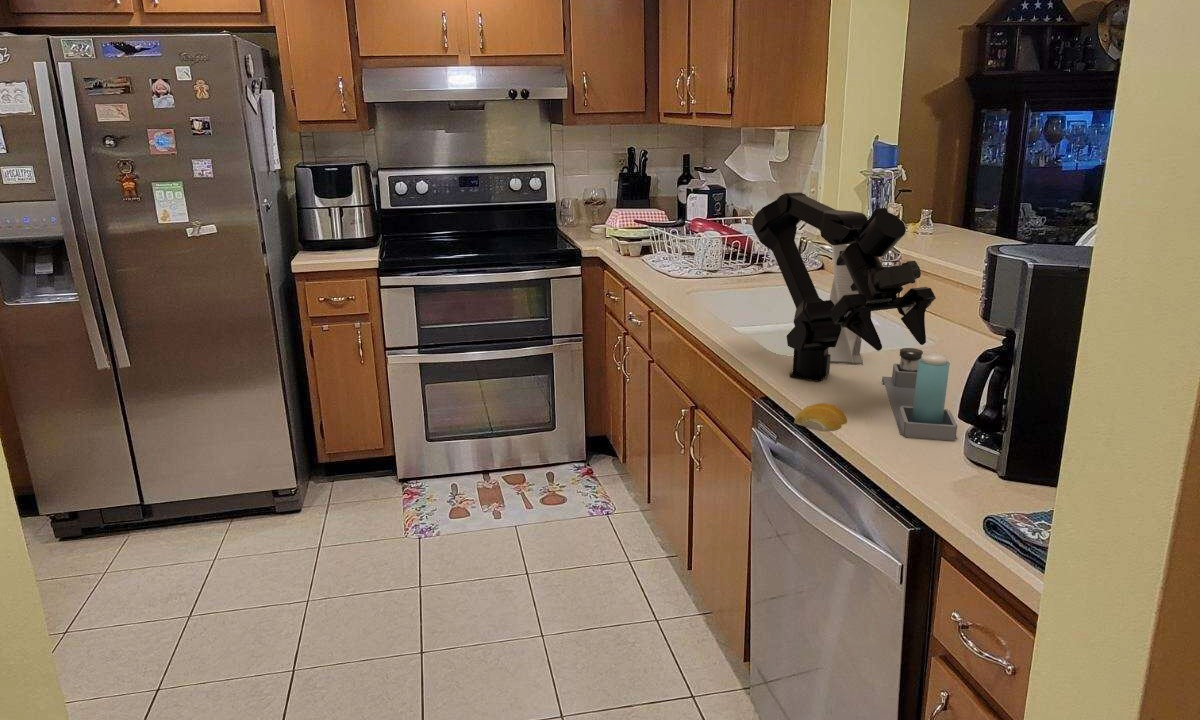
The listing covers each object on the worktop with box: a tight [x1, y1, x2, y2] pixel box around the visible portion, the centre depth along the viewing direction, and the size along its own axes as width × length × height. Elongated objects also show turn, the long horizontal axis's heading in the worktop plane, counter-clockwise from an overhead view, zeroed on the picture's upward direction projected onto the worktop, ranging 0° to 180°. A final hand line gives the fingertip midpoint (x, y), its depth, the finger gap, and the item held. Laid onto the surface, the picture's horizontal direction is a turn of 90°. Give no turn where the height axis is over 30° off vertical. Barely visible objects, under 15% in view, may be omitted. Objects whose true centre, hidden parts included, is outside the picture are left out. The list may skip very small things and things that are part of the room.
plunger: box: [899, 347, 924, 372], centre depth 162 cm, size 4×4×6 cm
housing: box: [881, 362, 958, 442], centre depth 151 cm, size 32×9×4 cm, turn 167°
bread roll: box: [794, 402, 848, 432], centre depth 145 cm, size 8×9×4 cm
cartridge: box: [912, 352, 951, 424], centre depth 138 cm, size 5×5×13 cm
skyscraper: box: [828, 244, 864, 366], centre depth 177 cm, size 8×8×28 cm
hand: (902, 346), depth 144 cm, fingers open, 9 cm apart
